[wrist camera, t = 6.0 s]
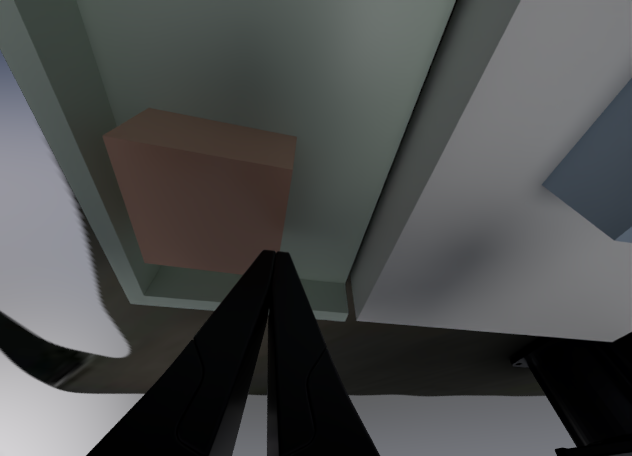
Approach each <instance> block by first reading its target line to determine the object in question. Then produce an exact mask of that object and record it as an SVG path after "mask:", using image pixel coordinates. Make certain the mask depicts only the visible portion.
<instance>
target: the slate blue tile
mask: <svg viewBox="0 0 632 456" xmlns="http://www.w3.org/2000/svg"><path fill="white" fill-rule="evenodd" d="M542 186H544V187H545V188H546V189H548V190H549V191H550V192H552V193H553V194H554V195H555V196H557V197H558V198H559V199H561V200H562V201H563V202H565V203H566V204H567V205H568V206H570V207H571V208H572V209H574V210H575V211H576V212H578V213H579V214H580V215H581V216H583V217H584V218H585V219H587V220H588V221H589V222H591V223H592V224H593V225H594V226H596V227H597V228H598V229H600V230H601V231H602V232H604V233H605V234H606V235H607V236H609V237H610V238H611V239H613V240H614V241H620V242H628V243H632V78H631V79H630V80H629V82H628V83H627V84H626V85H625V86H624V88H623V89H622V90H621V91H620V92H619V93H618V95H617V96H616V97H615V98H614V99H613V101H612V102H611V103H610V104H609V105H608V107H607V108H606V109H605V110H604V111H603V112H602V114H601V115H600V116H599V117H598V118H597V120H596V121H595V122H594V123H593V124H592V125H591V127H590V128H589V129H588V130H587V131H586V133H585V134H584V135H583V136H582V137H581V139H580V140H579V141H578V142H577V143H576V144H575V146H574V147H573V148H572V149H571V150H570V152H569V153H568V154H567V155H566V156H565V157H564V159H563V160H562V161H561V162H560V163H559V165H558V166H557V167H556V168H555V169H554V171H553V172H552V173H551V174H550V175H549V176H548V178H547V179H546V180H545V181H544V182H543V184H542Z"/></svg>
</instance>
